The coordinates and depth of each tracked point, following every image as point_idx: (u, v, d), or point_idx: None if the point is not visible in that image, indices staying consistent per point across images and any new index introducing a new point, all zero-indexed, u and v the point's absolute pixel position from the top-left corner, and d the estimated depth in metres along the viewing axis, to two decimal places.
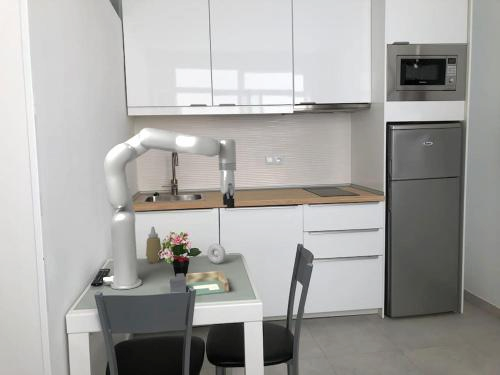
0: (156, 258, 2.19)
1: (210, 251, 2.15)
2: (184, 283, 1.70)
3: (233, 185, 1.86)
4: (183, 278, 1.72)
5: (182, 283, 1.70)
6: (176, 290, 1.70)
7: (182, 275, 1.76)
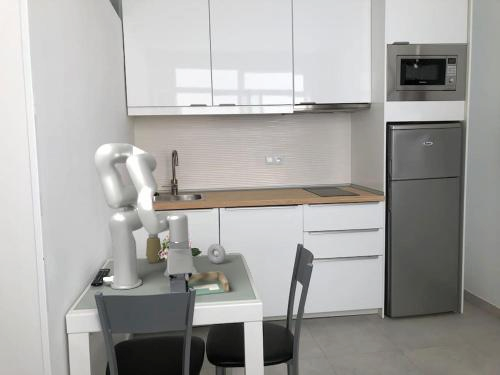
0: (156, 258, 2.19)
1: (210, 251, 2.15)
2: (184, 283, 1.70)
3: None
4: (183, 278, 1.72)
5: (181, 283, 1.70)
6: (176, 290, 1.70)
7: (182, 275, 1.76)
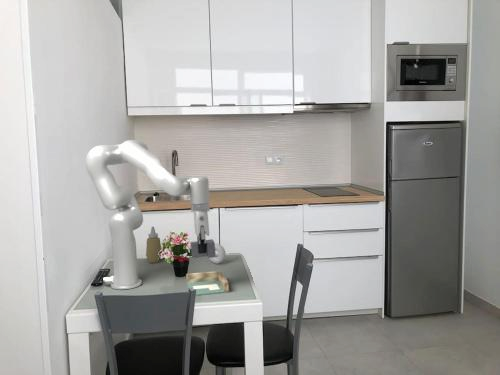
0: (156, 258, 2.19)
1: None
2: None
3: None
4: (208, 240, 1.78)
5: None
6: None
7: (198, 241, 1.77)
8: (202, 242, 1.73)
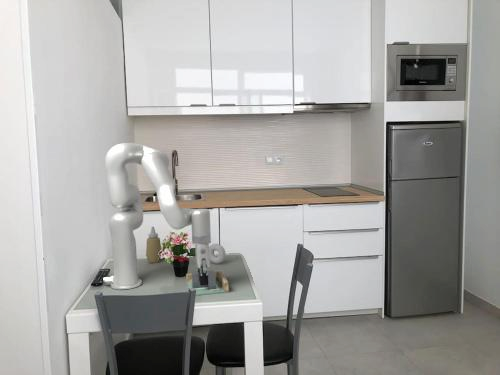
0: (156, 258, 2.19)
1: (210, 251, 2.15)
2: None
3: None
4: (209, 271, 1.79)
5: None
6: None
7: (199, 272, 1.78)
8: (204, 273, 1.73)
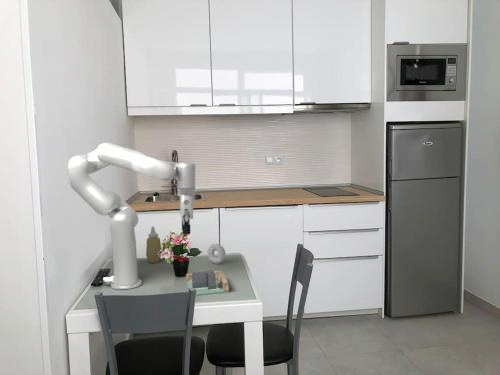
0: (156, 258, 2.19)
1: (210, 251, 2.15)
2: None
3: None
4: (209, 271, 1.79)
5: None
6: None
7: (199, 272, 1.78)
8: None
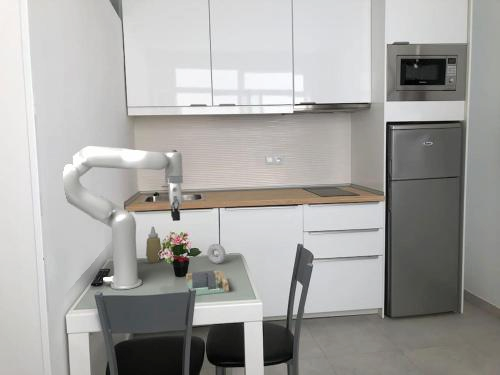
0: (156, 258, 2.19)
1: (210, 251, 2.15)
2: None
3: None
4: (209, 271, 1.79)
5: None
6: None
7: (199, 272, 1.78)
8: None
